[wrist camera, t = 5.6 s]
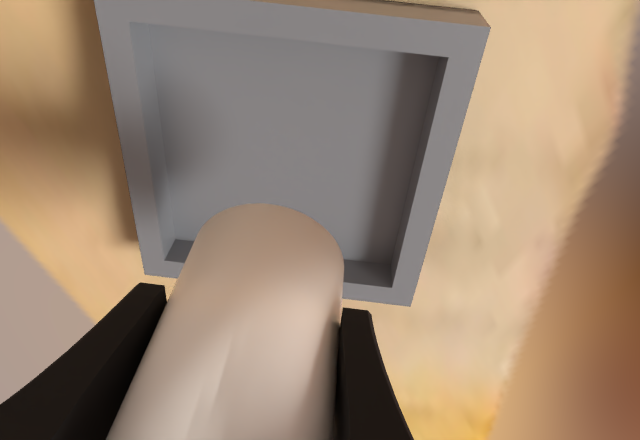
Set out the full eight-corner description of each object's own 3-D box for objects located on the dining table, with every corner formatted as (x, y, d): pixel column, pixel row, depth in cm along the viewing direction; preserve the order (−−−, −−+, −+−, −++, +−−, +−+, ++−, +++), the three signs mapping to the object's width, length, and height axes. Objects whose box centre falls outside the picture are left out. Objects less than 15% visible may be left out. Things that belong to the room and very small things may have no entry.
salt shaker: (338, 324, 15) (314, 671, 9) (196, 307, 15) (71, 639, 9) (357, 211, 12) (342, 601, 6) (183, 190, 13) (-15, 555, 6)
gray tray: (407, 275, 23) (410, 306, 21) (160, 246, 23) (144, 274, 22) (478, 10, 16) (490, 27, 14) (118, -29, 16) (90, -17, 14)
